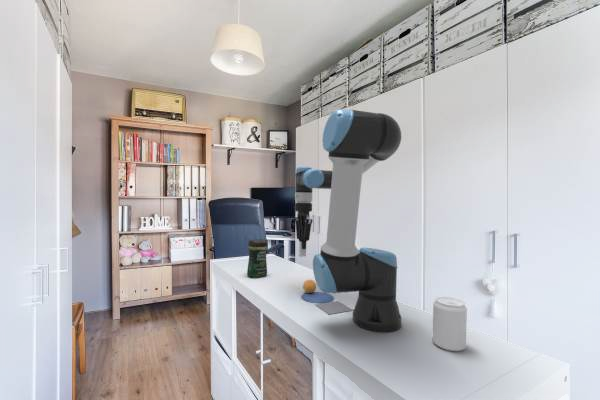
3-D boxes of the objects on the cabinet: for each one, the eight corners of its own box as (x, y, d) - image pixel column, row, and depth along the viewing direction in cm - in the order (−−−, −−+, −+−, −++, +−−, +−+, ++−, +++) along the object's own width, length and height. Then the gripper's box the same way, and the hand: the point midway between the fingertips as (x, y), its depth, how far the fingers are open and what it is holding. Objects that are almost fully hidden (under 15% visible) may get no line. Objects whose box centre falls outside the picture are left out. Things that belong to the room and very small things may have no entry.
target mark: (340, 300, 115) (340, 300, 115) (310, 305, 109) (310, 304, 109) (323, 290, 126) (323, 290, 126) (295, 294, 121) (295, 294, 121)
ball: (312, 279, 127) (314, 292, 126) (300, 281, 125) (302, 294, 124) (316, 277, 122) (319, 291, 121) (304, 279, 120) (307, 293, 119)
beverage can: (458, 339, 84) (458, 297, 84) (471, 354, 76) (472, 307, 76) (428, 337, 85) (429, 295, 85) (438, 351, 77) (439, 305, 77)
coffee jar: (252, 279, 142) (253, 240, 142) (245, 275, 149) (245, 238, 149) (269, 276, 148) (270, 239, 148) (262, 273, 154) (262, 237, 154)
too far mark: (353, 310, 104) (353, 309, 104) (329, 314, 100) (329, 314, 100) (337, 301, 113) (337, 300, 113) (314, 305, 109) (314, 304, 109)
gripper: (289, 202, 134) (288, 254, 134) (302, 202, 123) (301, 259, 123) (304, 202, 138) (303, 253, 138) (318, 202, 126) (317, 258, 126)
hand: (302, 256), depth 130 cm, fingers closed
